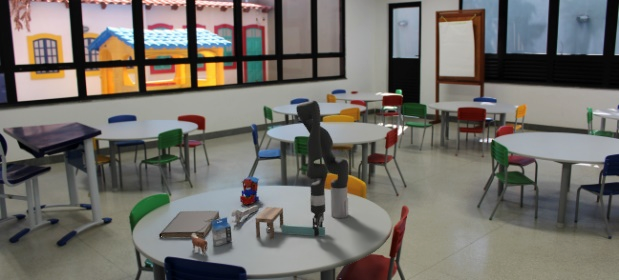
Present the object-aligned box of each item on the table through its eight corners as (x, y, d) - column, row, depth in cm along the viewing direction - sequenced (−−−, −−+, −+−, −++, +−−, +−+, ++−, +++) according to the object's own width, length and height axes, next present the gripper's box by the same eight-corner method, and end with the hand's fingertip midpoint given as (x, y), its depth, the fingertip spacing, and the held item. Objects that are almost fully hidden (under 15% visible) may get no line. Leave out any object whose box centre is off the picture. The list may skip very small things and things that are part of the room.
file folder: (204, 231, 275) (158, 232, 276) (204, 238, 275) (159, 239, 277) (219, 210, 307) (178, 210, 309) (219, 216, 308) (178, 217, 309)
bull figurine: (196, 246, 264) (194, 231, 263) (210, 254, 254) (209, 238, 253) (188, 249, 262) (186, 233, 260) (202, 257, 252) (200, 240, 250)
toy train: (260, 198, 339) (259, 175, 336) (254, 206, 323) (253, 182, 320) (244, 198, 340) (243, 175, 337) (238, 206, 325) (236, 182, 322)
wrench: (258, 214, 318) (234, 225, 290) (255, 214, 318) (231, 225, 290) (258, 201, 317) (234, 211, 289) (255, 200, 318) (231, 211, 290)
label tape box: (216, 246, 263) (214, 223, 261) (212, 244, 267) (211, 220, 264) (232, 242, 268) (230, 219, 266) (228, 239, 272) (226, 216, 269)
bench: (283, 226, 288) (282, 207, 286) (273, 238, 271) (272, 219, 269) (267, 225, 290) (266, 206, 288) (256, 237, 273) (255, 218, 271)
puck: (275, 230, 282) (275, 227, 282) (273, 234, 278) (272, 230, 278) (267, 230, 284) (267, 226, 283) (265, 233, 279) (264, 229, 279)
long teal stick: (325, 235, 274) (325, 227, 273) (324, 236, 273) (324, 228, 272) (282, 232, 280) (282, 224, 279) (281, 233, 279) (281, 225, 278)
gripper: (314, 198, 279) (314, 227, 282) (307, 206, 265) (307, 237, 268) (328, 198, 277) (328, 228, 280) (321, 207, 263) (322, 238, 266)
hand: (318, 233), depth 274 cm, fingers open, 8 cm apart
